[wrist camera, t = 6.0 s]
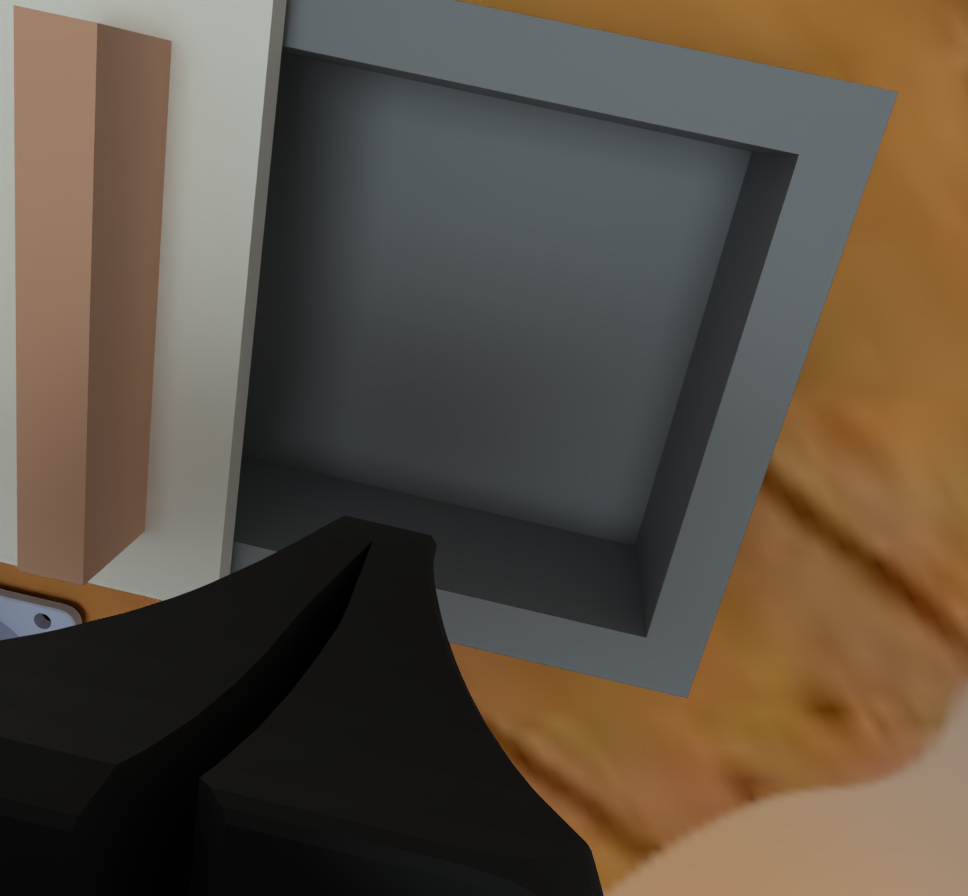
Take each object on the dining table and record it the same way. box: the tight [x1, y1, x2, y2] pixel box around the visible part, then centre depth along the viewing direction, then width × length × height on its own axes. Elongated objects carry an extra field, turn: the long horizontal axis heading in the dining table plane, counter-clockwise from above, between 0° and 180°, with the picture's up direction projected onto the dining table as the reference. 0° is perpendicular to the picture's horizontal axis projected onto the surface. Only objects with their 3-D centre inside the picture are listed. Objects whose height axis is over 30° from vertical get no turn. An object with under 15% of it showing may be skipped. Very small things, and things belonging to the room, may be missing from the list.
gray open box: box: [230, 0, 898, 698], centre depth 18 cm, size 18×12×5 cm, turn 79°
